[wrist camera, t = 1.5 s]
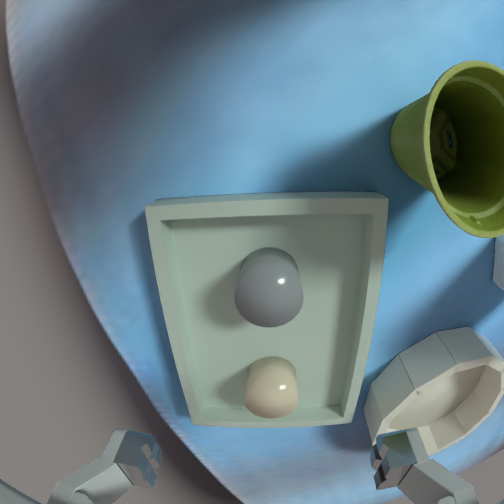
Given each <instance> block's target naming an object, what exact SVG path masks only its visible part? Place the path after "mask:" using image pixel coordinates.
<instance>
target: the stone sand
mask: <svg viewBox="0 0 504 504" xmlns="http://www.w3.org/2000/svg"><path fill="white" fill-rule="evenodd" d="M297 405H298V392H297V379H296V369H295V367H294V365H293V364H292V363H291V362H290V361H288V360H286V359H284V358H281V357H276V356H268V357H263V358H260V359H258V360H256V361H254V362H253V363H252V364H251V365H250V367H249V369H248V373H247V382H246V392H245V406H246V408H247V409H248V410H249V411H250V412H251V413H252V414H254V415H256V416H259V417H263V418H280V417H283V416H286V415H288V414H290V413H292V412H293V411H294V410H295V409H296V407H297Z"/></svg>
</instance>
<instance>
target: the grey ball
mask: <svg viewBox="0 0 504 504" xmlns="http://www.w3.org/2000/svg"><path fill="white" fill-rule="evenodd" d="M234 300H235V305H236V308H237V310H238V312H239V313H240V315H241V316H242V317H243V318H244V319H245V320H247V321H248V322H250V323H252V324H254V325H256V326H260V327H267V328H271V327H278V326H282V325H284V324H286V323H288V322H290V321H291V320H293V319H294V318H295V317H296V316H297V314H298V313H299V312H300V310H301V308H302V305H303V300H304V294H303V289H302V284H301V279H300V274H299V270H298V266H297V263H296V262H295V260H294V259H293V257H292V256H291V255H290V254H288V253H287V252H285V251H284V250H281V249H278V248H274V247H264V248H260V249H257V250H255V251H253V252H252V253H250V254H249V255H248V256H247V257H246V258H245V259H244V261H243V262H242V265H241V267H240V271H239V276H238V280H237V285H236V290H235V295H234Z"/></svg>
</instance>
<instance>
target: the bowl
mask: <svg viewBox="0 0 504 504" xmlns="http://www.w3.org/2000/svg"><path fill="white" fill-rule="evenodd" d="M503 394H504V359H503V358H502V356H501V355H500V354H499V353H498V351H497V350H496V349H495V348H494V346H493V345H492V344H491V343H490V342H489V340H488V339H487V338H486V337H484V336H483V335H481V334H480V333H478V332H476V331H475V330H473V329H472V328H470V327H462V328H456V329H450V330H444V331H437V332H436V333H435V332H434V333H433V334H431V335H429V336H428V337H426V338H425V339H423V340H421V341H420V342H418V343H416V344H414V345H413V346H411V347H409V348H408V349H406V350H404V351H402V352H401V353H399V355H398V354H397V356H396V357H395V358H394V359H393V360H392V361H391V362H390V363H389V365H388V366H387V367H386V368H385V369H384V370H383V371H382V372H381V373H380V374H379V376H378V377H377V378H376V379H375V380H374V381H373V382H372V383H371V385H370V388H369V392H368V396H367V399H366V402H365V406H364V409H363V410H364V414H365V418H366V421H367V425H368V429H369V433H370V437H371V441H372V445H375V444H376V440H375V439H376V437H377V436H378V435H379V434H384V433H389V432H394V431H399V430H404V429H409V428H413V427H416V428H417V429H418V431H419V433H420V436H421V438H422V441H423V443H424V446H425V449H426V451H427V454H428V455H432V454H435V453H438V452H440V451H442V450H444V449H445V448H447V447H449V446H451V445H453V444H454V443H456V442H458V441H460V440H461V439H463V438H465V437H466V436H468V435H469V434H470V433H471V432H472V431H473V430H474V429H476V428H477V427H478V426H479V425H480V424H481V423H482V422H483V421H484V420H485V419H486V418H487V417H488V416H489V415H490V414H491V413H492V412H493V411H494V409H495V407H496V406H497V404H498V402H499V401H500V399H501V397H502V396H503Z"/></svg>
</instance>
